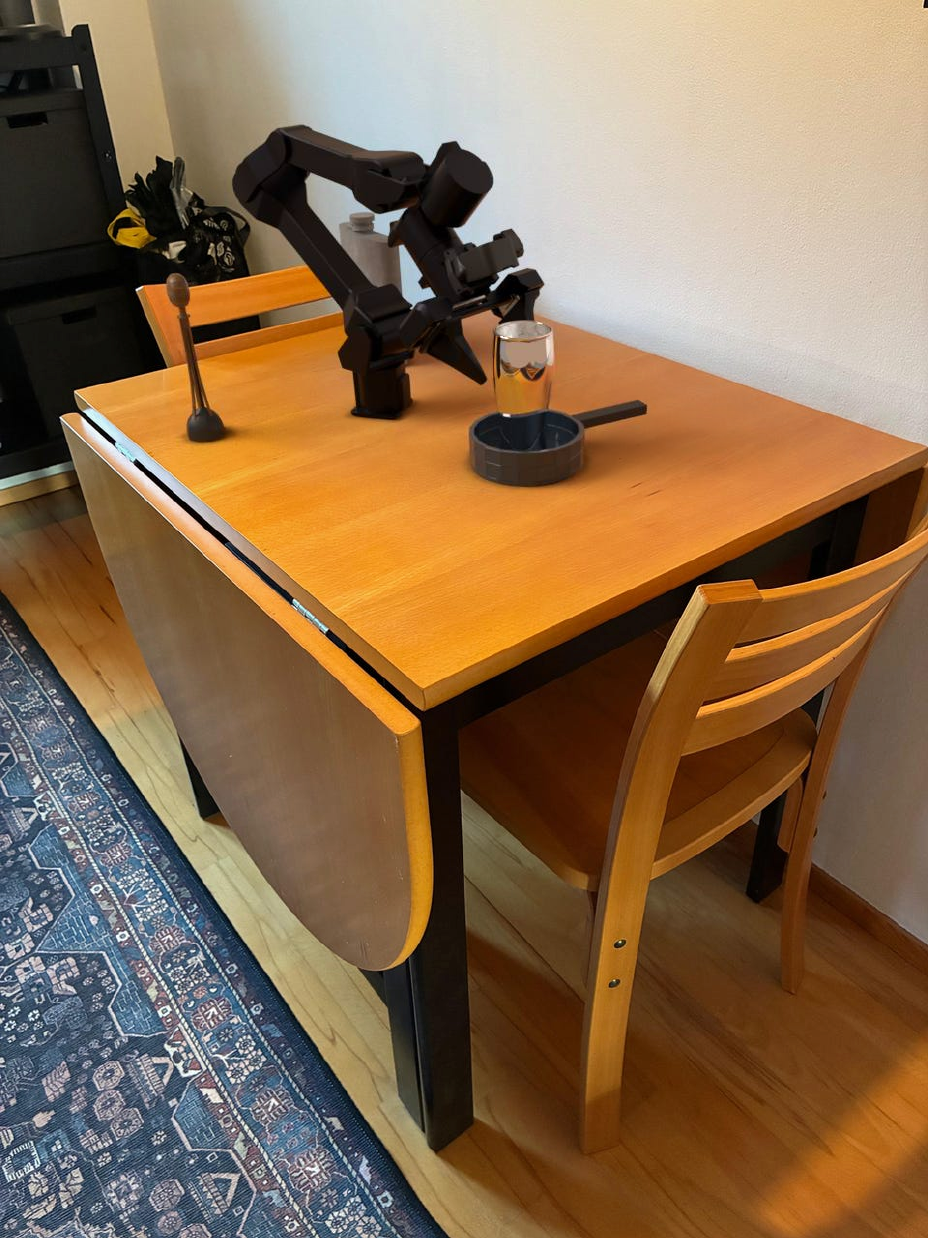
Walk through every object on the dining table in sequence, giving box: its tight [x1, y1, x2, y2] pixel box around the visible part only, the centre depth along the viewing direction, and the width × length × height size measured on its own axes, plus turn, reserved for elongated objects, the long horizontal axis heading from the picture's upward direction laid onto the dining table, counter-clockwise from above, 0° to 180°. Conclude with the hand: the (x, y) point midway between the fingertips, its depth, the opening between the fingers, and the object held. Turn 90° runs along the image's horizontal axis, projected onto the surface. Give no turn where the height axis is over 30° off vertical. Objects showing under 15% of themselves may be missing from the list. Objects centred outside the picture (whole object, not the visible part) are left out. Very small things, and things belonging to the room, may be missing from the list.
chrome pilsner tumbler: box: [491, 320, 556, 451], centre depth 109 cm, size 7×7×15 cm
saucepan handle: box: [570, 399, 648, 430], centre depth 115 cm, size 10×2×1 cm, turn 116°
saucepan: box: [468, 408, 586, 487], centre depth 112 cm, size 13×13×4 cm
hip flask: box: [338, 211, 408, 366], centre depth 142 cm, size 16×4×20 cm, turn 29°
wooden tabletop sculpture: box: [165, 272, 227, 443], centre depth 119 cm, size 6×5×20 cm
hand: (512, 371), depth 109 cm, fingers open, 9 cm apart
